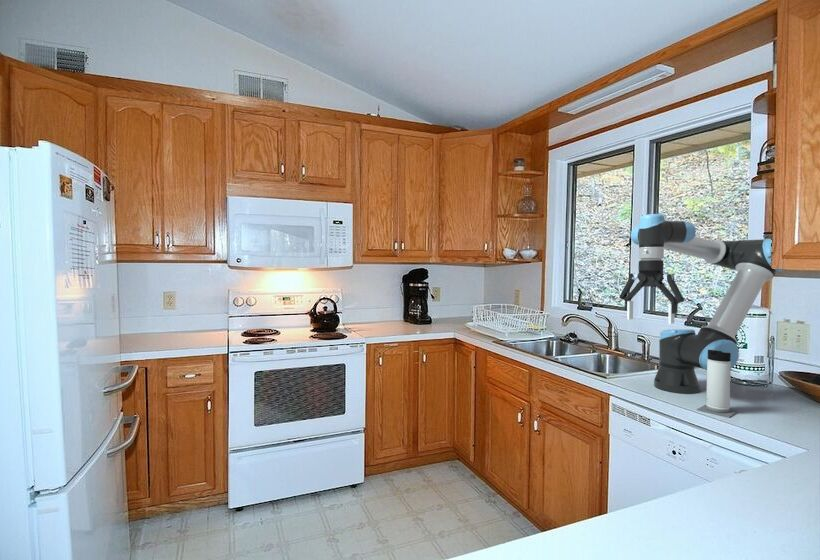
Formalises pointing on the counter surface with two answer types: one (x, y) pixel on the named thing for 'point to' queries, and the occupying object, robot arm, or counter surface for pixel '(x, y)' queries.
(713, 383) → the travel mug
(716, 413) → the rubber mat
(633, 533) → the counter surface
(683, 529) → the counter surface
